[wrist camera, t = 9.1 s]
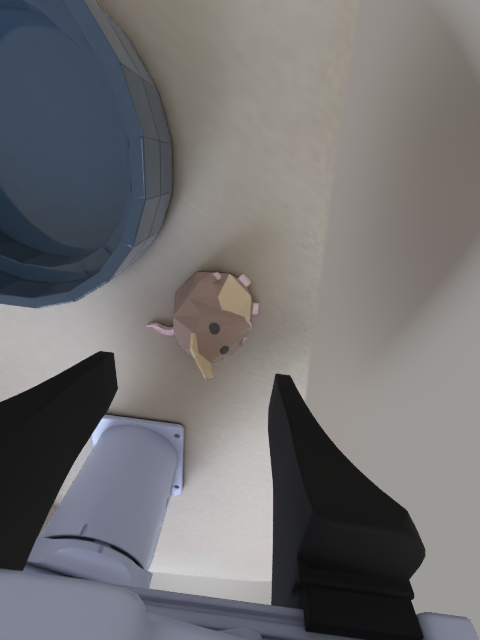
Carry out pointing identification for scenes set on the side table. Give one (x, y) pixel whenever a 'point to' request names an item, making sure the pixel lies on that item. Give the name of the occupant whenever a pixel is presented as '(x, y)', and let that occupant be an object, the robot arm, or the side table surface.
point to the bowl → (75, 152)
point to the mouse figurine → (211, 317)
